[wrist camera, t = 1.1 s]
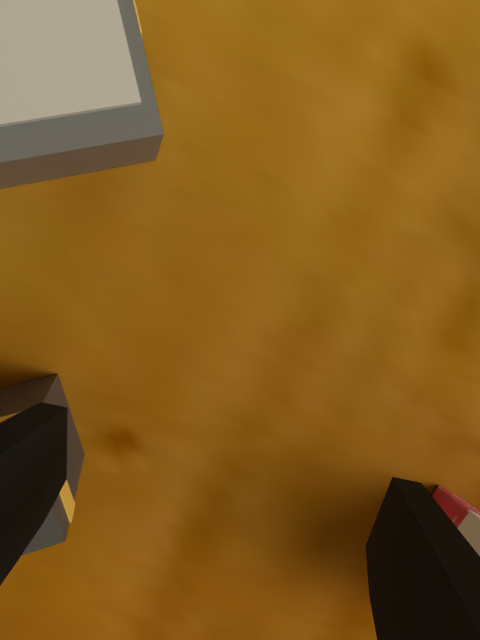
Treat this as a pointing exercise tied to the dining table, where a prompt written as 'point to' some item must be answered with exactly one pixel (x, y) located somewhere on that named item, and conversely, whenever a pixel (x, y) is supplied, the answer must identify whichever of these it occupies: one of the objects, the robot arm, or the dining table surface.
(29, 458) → the robot arm
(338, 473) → the dining table surface
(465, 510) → the ink box
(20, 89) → the pale grey flat box
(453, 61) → the dining table surface
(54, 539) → the block
